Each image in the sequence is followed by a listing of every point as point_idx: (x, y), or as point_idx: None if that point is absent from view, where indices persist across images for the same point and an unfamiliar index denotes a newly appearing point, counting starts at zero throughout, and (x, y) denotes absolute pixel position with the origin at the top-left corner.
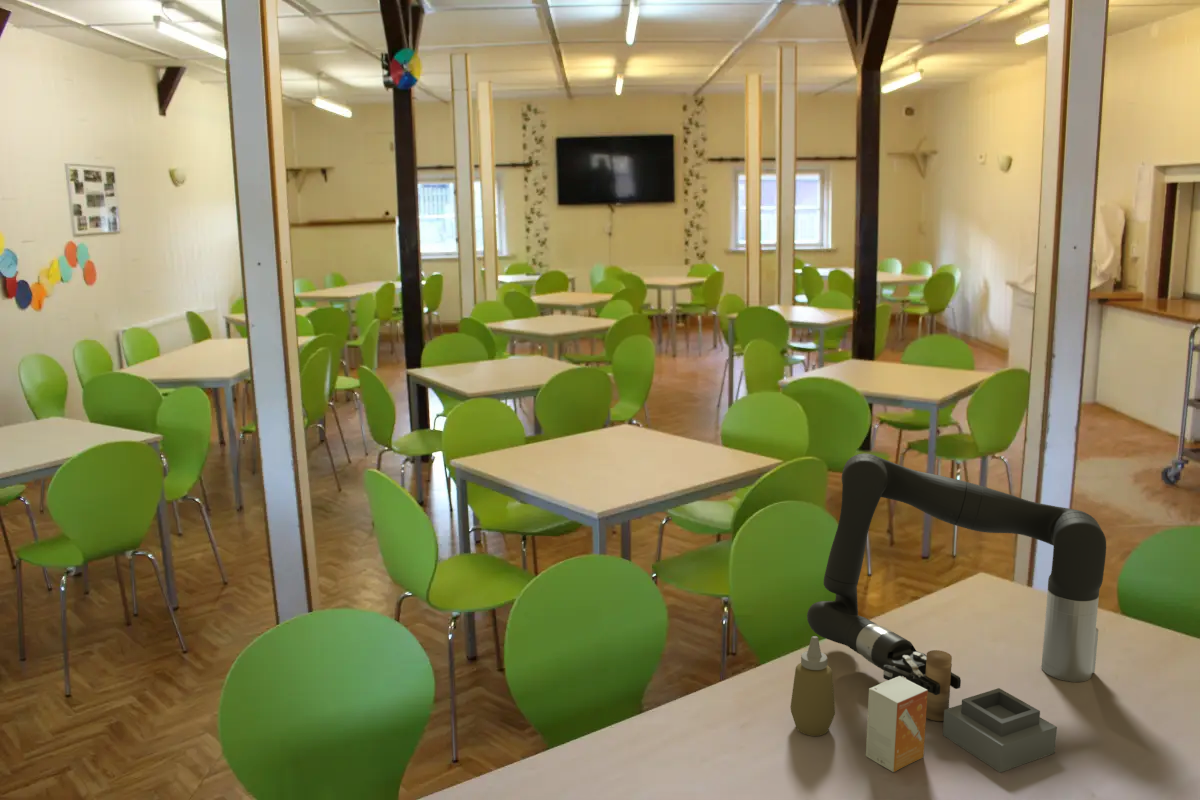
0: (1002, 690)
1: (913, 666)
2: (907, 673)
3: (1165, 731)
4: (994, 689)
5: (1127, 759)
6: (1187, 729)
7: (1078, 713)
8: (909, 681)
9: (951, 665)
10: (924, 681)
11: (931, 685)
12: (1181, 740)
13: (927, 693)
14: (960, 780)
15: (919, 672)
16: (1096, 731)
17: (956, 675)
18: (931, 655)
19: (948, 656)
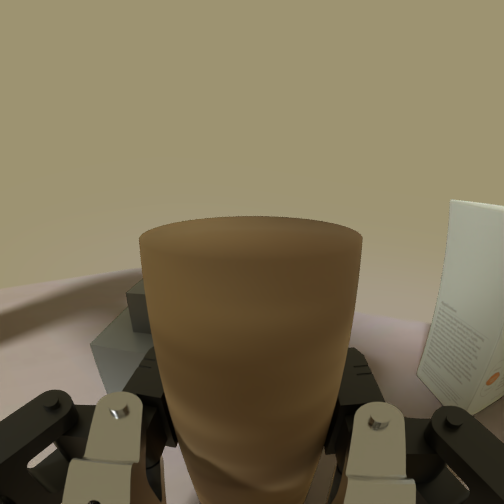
0: (134, 287)
1: (393, 488)
2: (463, 438)
3: (40, 290)
4: (143, 294)
5: (121, 290)
6: (30, 285)
7: (25, 333)
8: (494, 206)
9: (57, 394)
10: (373, 386)
11: (356, 353)
12: (53, 283)
13: (449, 210)
14: (377, 328)
15: (366, 439)
16: (69, 314)
17: (142, 361)
18: (312, 239)
19: (200, 221)
